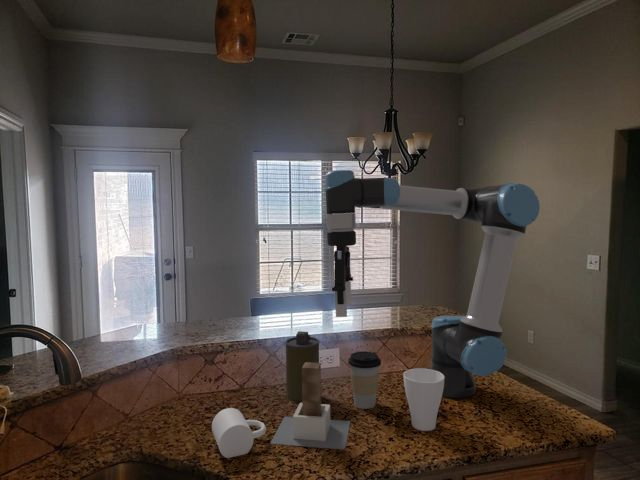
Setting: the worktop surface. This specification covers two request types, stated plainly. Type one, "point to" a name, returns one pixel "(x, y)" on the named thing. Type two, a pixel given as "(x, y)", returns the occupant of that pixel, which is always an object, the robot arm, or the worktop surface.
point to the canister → (299, 362)
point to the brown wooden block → (311, 389)
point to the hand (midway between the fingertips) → (344, 310)
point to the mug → (235, 432)
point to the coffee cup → (364, 378)
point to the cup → (423, 396)
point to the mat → (333, 440)
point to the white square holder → (311, 424)
